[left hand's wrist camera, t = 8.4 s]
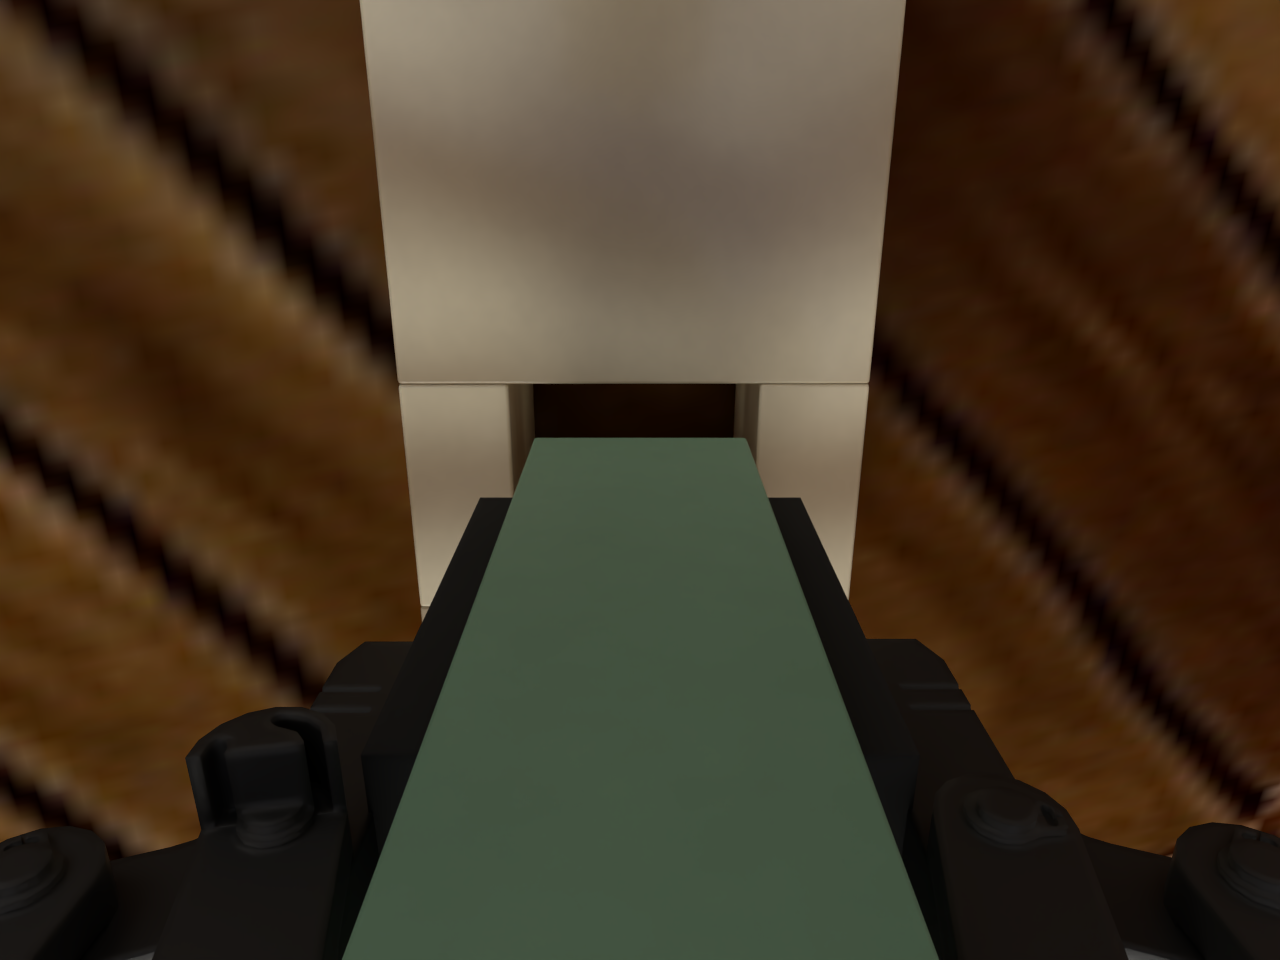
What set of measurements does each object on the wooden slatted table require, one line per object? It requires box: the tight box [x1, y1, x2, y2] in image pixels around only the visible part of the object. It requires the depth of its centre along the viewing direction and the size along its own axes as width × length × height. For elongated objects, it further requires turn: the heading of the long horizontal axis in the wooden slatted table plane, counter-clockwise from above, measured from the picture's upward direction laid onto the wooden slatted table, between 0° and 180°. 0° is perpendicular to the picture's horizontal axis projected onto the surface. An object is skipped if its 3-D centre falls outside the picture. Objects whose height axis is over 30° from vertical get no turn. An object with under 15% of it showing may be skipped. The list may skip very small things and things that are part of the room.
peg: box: [342, 438, 939, 960], centre depth 11 cm, size 4×4×12 cm
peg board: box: [360, 0, 906, 622], centre depth 14 cm, size 26×9×10 cm, turn 0°
